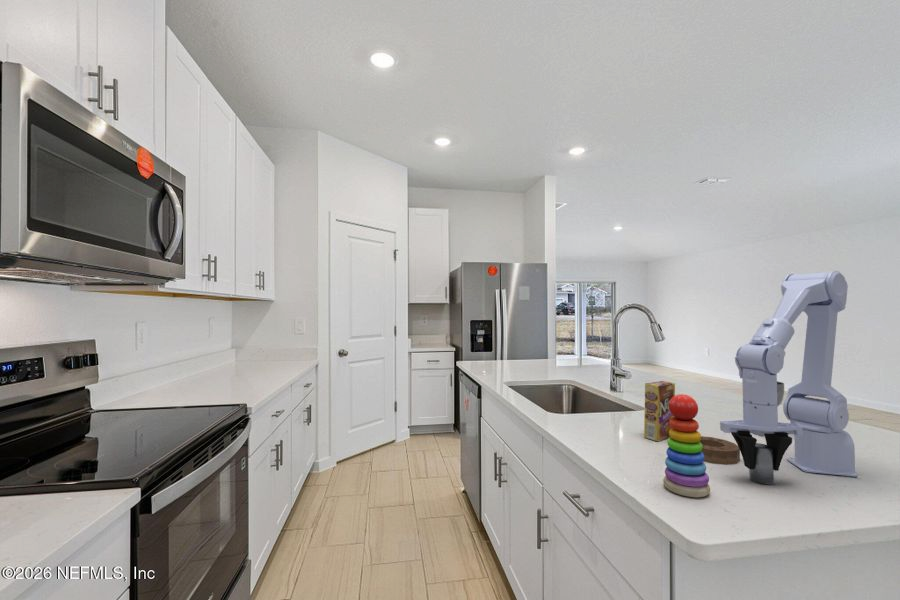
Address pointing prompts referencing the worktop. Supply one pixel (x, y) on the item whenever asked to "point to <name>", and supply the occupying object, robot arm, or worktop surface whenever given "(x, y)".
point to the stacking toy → (685, 451)
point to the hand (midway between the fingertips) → (761, 468)
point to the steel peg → (763, 465)
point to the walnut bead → (719, 451)
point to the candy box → (658, 410)
